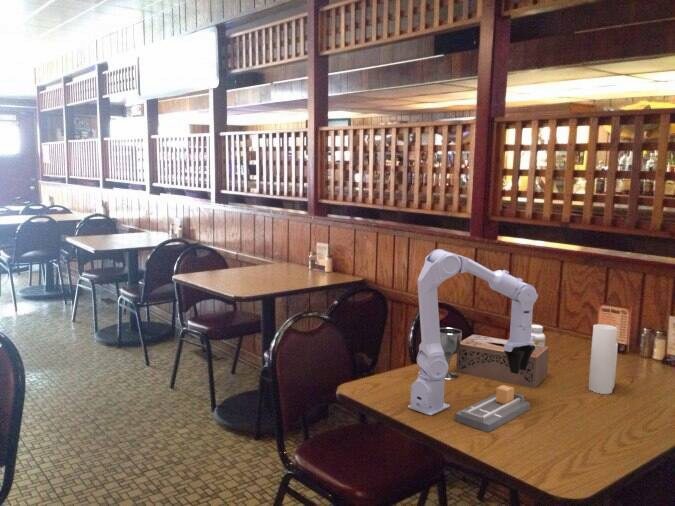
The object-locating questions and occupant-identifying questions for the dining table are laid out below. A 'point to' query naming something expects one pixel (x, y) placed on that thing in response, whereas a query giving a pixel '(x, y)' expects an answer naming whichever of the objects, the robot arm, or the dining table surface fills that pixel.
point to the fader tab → (504, 394)
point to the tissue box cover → (499, 361)
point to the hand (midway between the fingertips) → (518, 371)
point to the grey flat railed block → (492, 412)
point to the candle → (603, 359)
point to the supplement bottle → (538, 335)
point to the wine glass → (450, 345)
